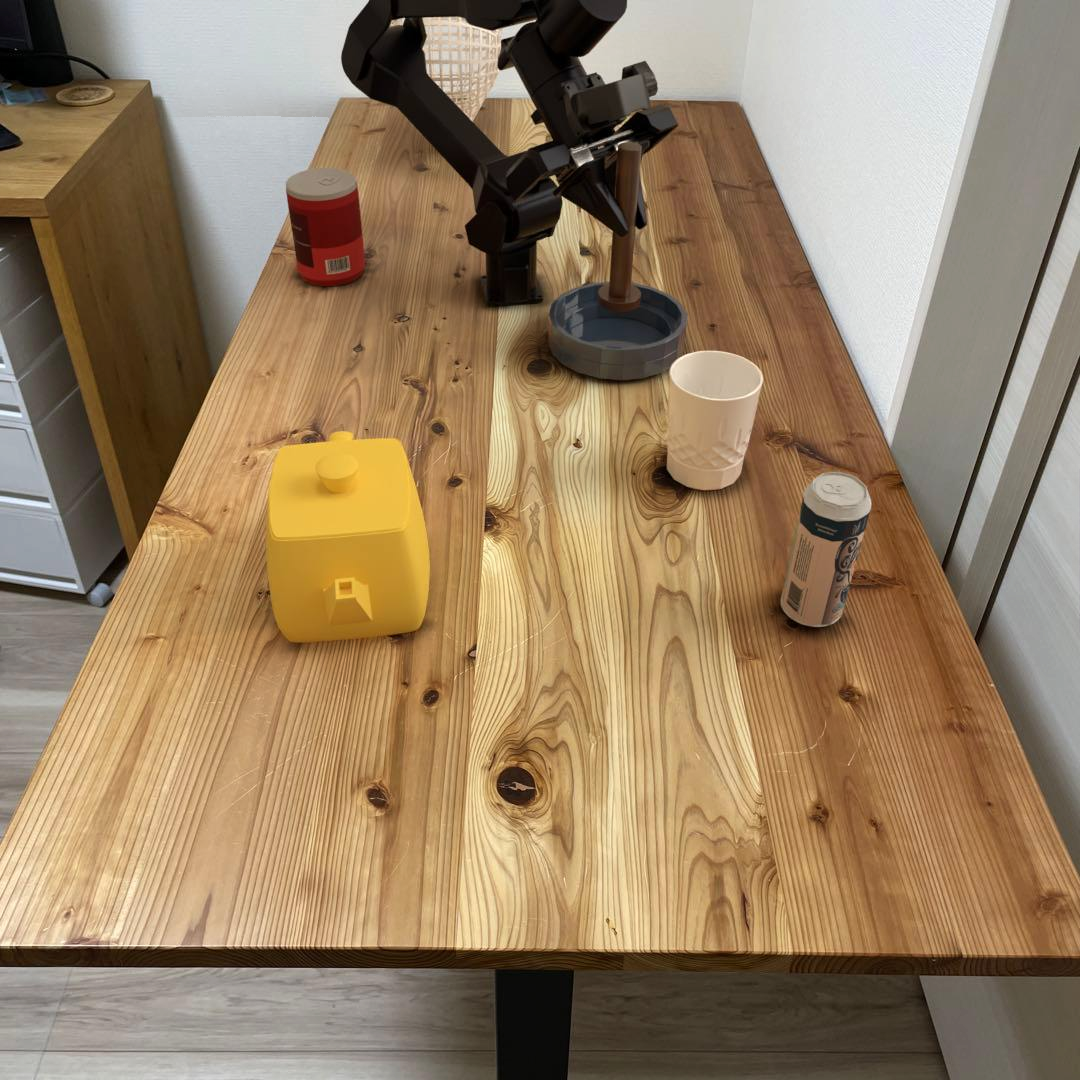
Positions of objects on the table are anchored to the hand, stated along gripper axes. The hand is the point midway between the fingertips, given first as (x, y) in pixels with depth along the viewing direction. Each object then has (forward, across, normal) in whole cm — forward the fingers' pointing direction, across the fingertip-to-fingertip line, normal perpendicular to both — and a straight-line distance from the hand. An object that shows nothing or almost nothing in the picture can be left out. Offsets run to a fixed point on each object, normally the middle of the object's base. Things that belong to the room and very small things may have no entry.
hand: (634, 231), depth 103 cm
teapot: (+17, -42, +2) cm, 46 cm away
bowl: (+9, 0, +10) cm, 14 cm away
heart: (-30, +23, +50) cm, 63 cm away
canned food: (-16, -12, +35) cm, 40 cm away
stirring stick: (+5, 0, +7) cm, 8 cm away
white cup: (+23, -10, -4) cm, 25 cm away
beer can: (+35, -17, -16) cm, 42 cm away
